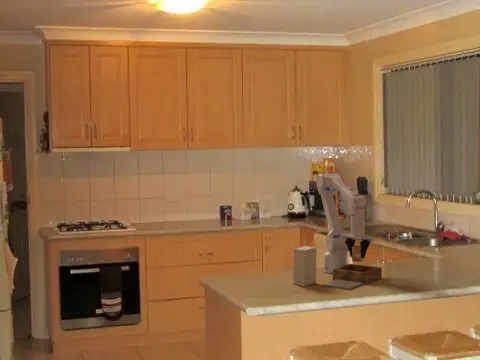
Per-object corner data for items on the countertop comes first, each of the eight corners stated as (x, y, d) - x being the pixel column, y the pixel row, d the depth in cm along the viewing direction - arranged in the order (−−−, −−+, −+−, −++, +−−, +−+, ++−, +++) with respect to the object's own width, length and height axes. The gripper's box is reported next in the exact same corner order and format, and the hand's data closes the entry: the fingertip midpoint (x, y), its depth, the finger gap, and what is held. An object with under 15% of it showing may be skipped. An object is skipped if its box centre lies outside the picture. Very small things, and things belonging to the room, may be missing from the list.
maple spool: (350, 260, 305) (350, 246, 305) (355, 259, 309) (355, 245, 308) (360, 262, 303) (360, 247, 302) (364, 260, 306) (364, 246, 306)
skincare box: (305, 281, 302) (305, 245, 301) (317, 283, 298) (317, 247, 297) (292, 284, 296) (292, 247, 295) (304, 286, 292) (304, 249, 291)
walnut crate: (332, 279, 304) (332, 269, 304) (349, 274, 317) (349, 263, 316) (365, 284, 296) (366, 273, 295) (381, 278, 308) (381, 267, 308)
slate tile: (322, 286, 292) (322, 284, 292) (336, 281, 302) (336, 279, 302) (349, 290, 285) (349, 287, 285) (363, 284, 295) (363, 282, 295)
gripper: (337, 224, 306) (337, 256, 307) (369, 227, 297) (369, 260, 298) (345, 222, 311) (345, 254, 312) (377, 225, 303) (376, 257, 304)
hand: (357, 257), depth 306 cm, fingers closed on maple spool, 4 cm apart
